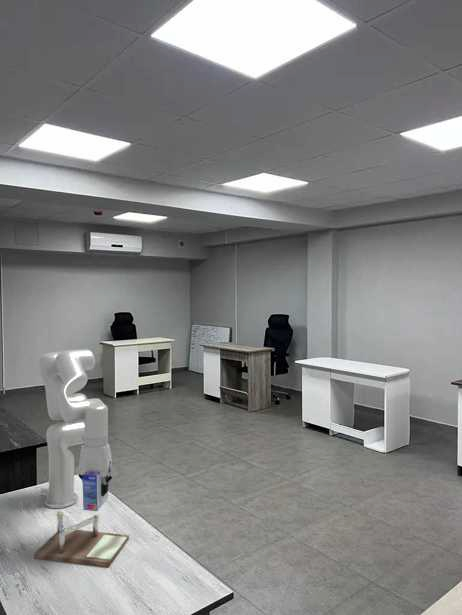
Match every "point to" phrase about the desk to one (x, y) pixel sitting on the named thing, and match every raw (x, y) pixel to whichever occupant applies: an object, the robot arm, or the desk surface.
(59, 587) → the desk surface
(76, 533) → the board
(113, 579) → the desk surface
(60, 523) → the bent wire
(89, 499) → the ink cartridge box
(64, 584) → the desk surface
